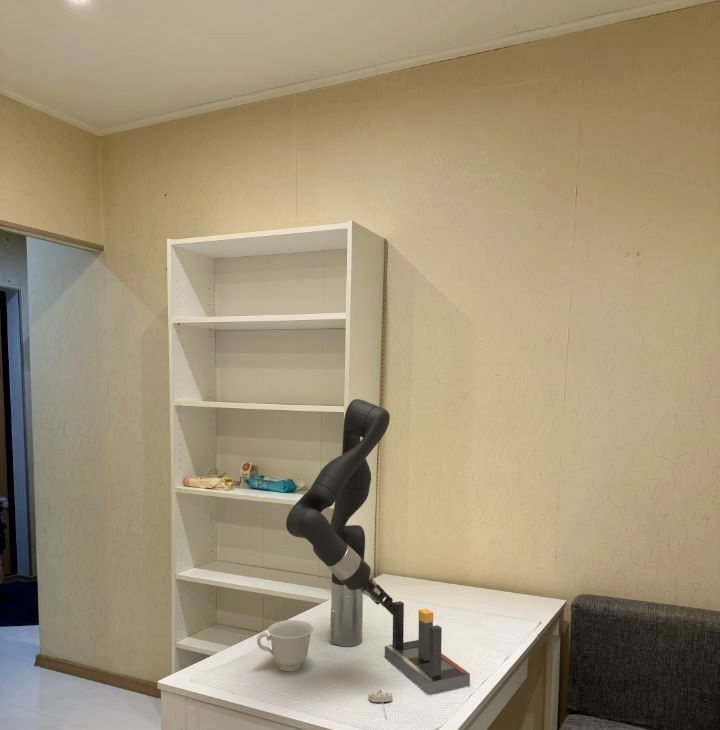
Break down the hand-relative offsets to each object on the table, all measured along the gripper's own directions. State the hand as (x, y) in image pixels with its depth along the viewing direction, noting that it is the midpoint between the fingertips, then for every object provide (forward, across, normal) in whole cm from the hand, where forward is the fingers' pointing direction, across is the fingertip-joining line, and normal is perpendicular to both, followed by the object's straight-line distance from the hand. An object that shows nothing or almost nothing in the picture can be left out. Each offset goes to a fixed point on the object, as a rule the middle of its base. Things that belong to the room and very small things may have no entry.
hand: (387, 606), depth 161 cm
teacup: (-2, +17, +28) cm, 33 cm away
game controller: (+8, -11, +19) cm, 23 cm away
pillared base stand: (+21, 0, +5) cm, 21 cm away
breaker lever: (+18, 0, +2) cm, 19 cm away
